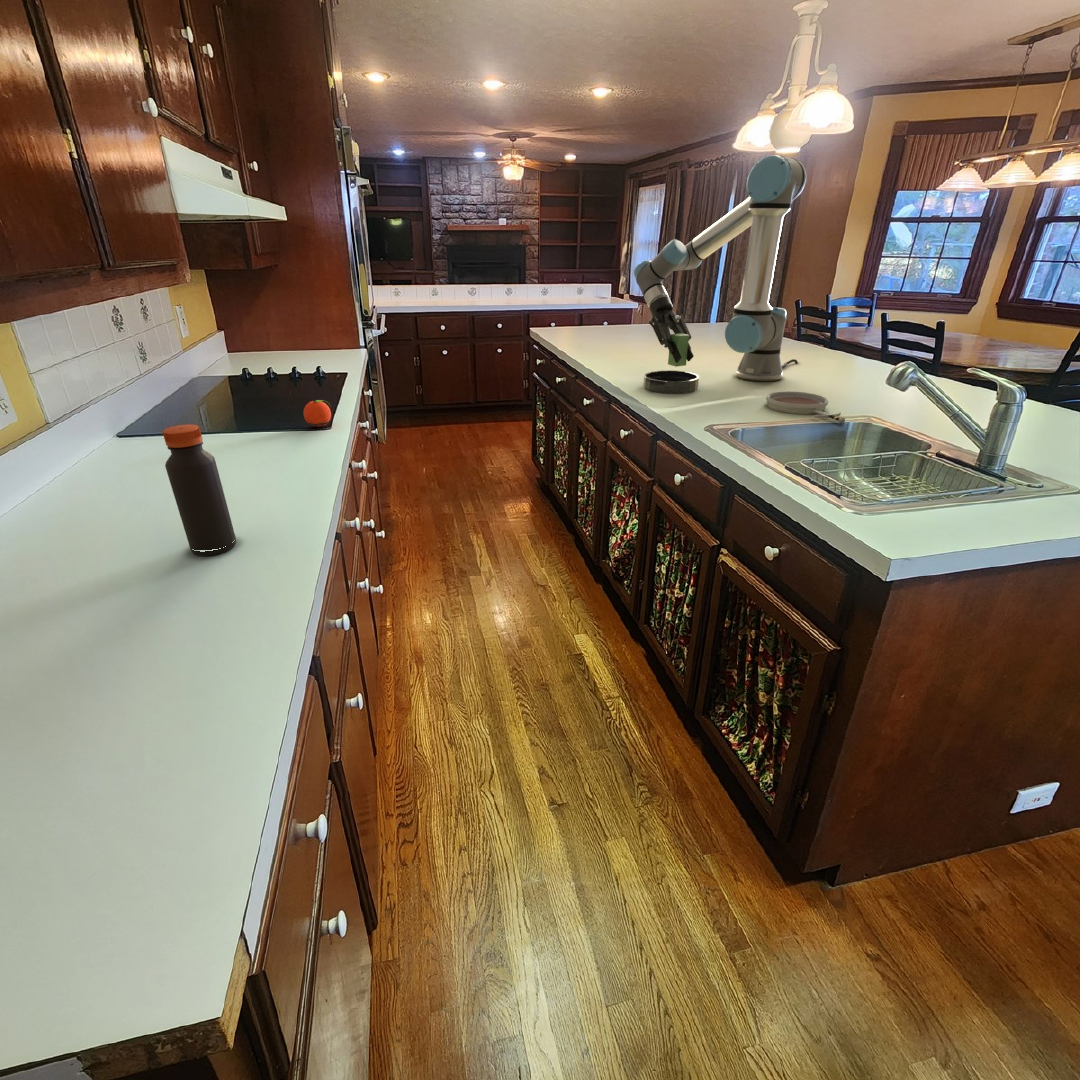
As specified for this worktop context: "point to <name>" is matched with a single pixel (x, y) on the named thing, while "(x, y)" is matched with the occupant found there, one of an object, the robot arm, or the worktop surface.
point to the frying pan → (801, 404)
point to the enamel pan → (671, 382)
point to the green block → (682, 346)
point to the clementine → (317, 413)
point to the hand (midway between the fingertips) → (684, 359)
